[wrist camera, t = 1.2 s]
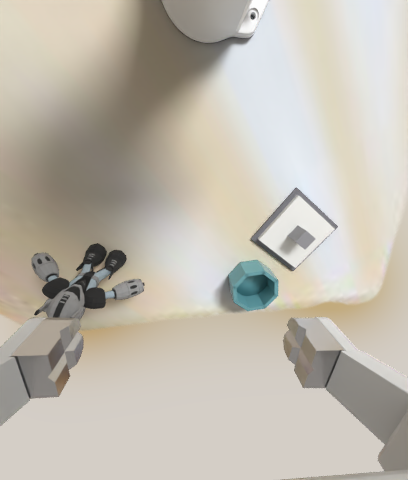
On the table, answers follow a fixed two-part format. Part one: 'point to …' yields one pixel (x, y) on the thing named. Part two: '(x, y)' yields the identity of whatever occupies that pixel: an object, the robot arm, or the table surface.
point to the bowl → (253, 285)
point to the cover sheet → (287, 225)
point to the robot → (82, 283)
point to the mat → (277, 212)
